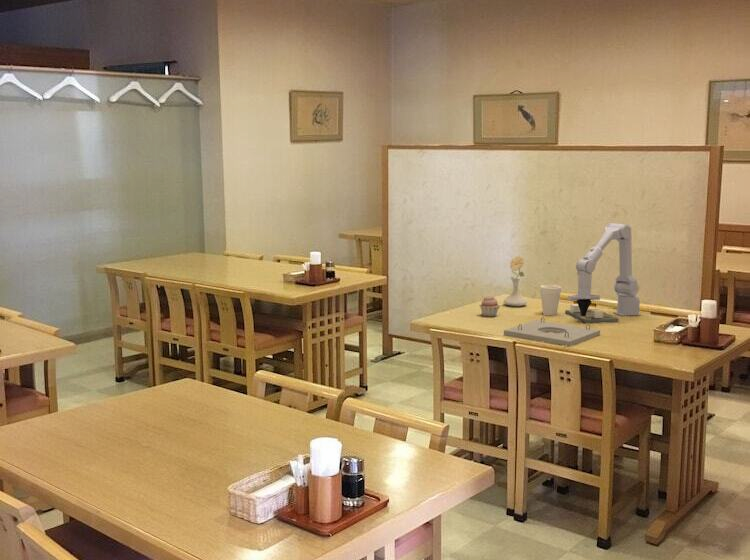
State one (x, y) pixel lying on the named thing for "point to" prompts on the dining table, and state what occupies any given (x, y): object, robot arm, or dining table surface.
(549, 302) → the foam cup
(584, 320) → the plate
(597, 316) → the handle
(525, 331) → the mounting panel
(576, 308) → the handle
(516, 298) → the flower in vase
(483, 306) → the cupcake
